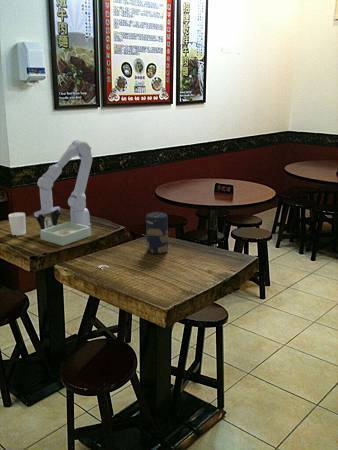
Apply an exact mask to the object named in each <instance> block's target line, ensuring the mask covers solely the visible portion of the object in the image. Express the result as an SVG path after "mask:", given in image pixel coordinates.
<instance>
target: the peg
mask: <svg viewBox="0 0 338 450" xmlns="http://www.w3.org/2000/svg"><path fill="white" fill-rule="evenodd" d="M44 224H45V229H46V228H49V227H53V226H54V225H53V223H52V217H45V222H44Z"/></svg>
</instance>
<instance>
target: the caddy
mask: <svg viewBox="0 0 338 450" xmlns="http://www.w3.org/2000/svg"><path fill="white" fill-rule="evenodd" d="M39 233H40V239H41V240H42V241H46V242H48V243H53V244H56V245H59V246H61V247H62V246H66V245H69V244H72V243H74V242H77V241H78V242H79V241H81V240H83V239H86V238H89V237H91V236H92V227H91V226H90V225H89V226H85V225H81V224H77V223H73V222H71V221H66V222H63V223H60V224H57V225H56V226H54V225H53V227H49V228H46V229H40V230H39Z"/></svg>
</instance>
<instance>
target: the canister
mask: <svg viewBox="0 0 338 450" xmlns="http://www.w3.org/2000/svg"><path fill="white" fill-rule="evenodd" d="M168 222H169V220H168V215H167V213H164V212H160V211H154V212H150V213H148V214H146V216H145V226H146V227H145V230H146V233H145V234H146V235H145V236H146V250H147V252H149V253H151V254H163V253H166V252H167V251H168V249H169V225H168Z"/></svg>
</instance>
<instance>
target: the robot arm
mask: <svg viewBox="0 0 338 450" xmlns="http://www.w3.org/2000/svg"><path fill="white" fill-rule="evenodd" d="M75 157H78V158H79V159H80V164H79V168H78V174H77V177H76V182H75V186H74V190H73V191H72V192H71V193H70V196H69V198H68V199H67V205H68V206H69V207H70V222H73V223H77V224H81V225H85V226H89V227H90V226H91V225H92V223H91V220H90V219H91V217H90V212H89V210H88V208H87V207H86V206H87V202H86V199H87V197H86V194H85V193H86V189H87V186H88V185H87V184H88V179H89V176H90V171H91V167H92V163H93V155H92V147H91V146H90V145H89V143H87V142H86V141H80V140H78V139H77V140H76V139H75V140H74V141H71V144H69V145H68V147H67V149H66V150H65V152H64V153H63V154H62V156H61V157H60V159H59V160H58V161H57V162H56V163H55V164H52V165H49V167H48V169H47V171H46V172H45V173H44V174H42V176H41V177H39V178H38V180H37V183H36V184H37V186H38V187H39V199H40V207H41V208H40V210H38V211H35V212H33V214H34V215H33V216H34V218H35V220H36V221H37V222H38V225H39V227H40V230H43V229H45V218H46V216H44V215H46V214H47V215H48V214H50V217H51V218H52V225H53V226H56V225H58V220H59V217H60V215H61V207H60V206H54V203H53V201H54V200H53V192H52V188H53V187H54V183H55V181H56V180H57V179H58V178H59V176H60V175H61V174H62V172H63V170H62V169H63V168H64V167H65V166H66V165H67V163H69V161H70V160H71V159H72V158H75Z"/></svg>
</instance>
